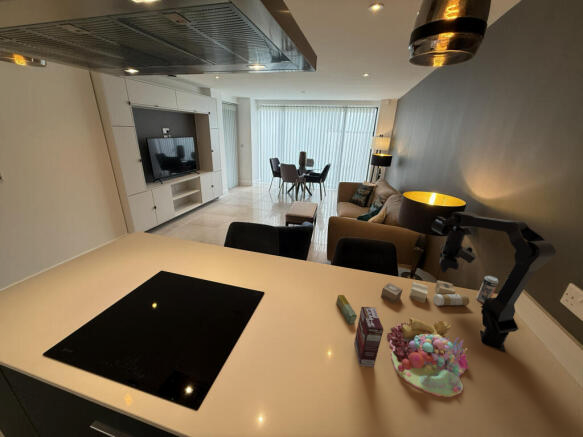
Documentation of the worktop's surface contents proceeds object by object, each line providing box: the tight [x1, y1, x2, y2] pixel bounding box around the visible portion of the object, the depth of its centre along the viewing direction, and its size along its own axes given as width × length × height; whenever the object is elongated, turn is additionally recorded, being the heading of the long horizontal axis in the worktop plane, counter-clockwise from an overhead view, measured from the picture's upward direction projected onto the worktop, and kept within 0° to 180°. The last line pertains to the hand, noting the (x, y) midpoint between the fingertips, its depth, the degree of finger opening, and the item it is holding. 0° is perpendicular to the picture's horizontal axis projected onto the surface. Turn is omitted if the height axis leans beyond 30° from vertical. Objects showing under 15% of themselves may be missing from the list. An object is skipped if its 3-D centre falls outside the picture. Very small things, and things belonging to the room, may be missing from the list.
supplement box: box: [353, 306, 384, 367], centre depth 72 cm, size 9×5×16 cm, turn 177°
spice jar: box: [475, 275, 499, 304], centre depth 101 cm, size 5×5×12 cm
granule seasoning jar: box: [432, 293, 470, 307], centre depth 99 cm, size 5×5×14 cm
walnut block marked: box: [380, 282, 403, 305], centre depth 101 cm, size 6×6×5 cm
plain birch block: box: [408, 281, 429, 304], centre depth 103 cm, size 6×6×5 cm
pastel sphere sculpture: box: [386, 317, 469, 398], centre depth 74 cm, size 25×24×9 cm
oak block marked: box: [434, 280, 456, 295], centre depth 105 cm, size 6×6×5 cm
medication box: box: [335, 294, 358, 325], centre depth 91 cm, size 12×3×4 cm, turn 13°
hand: (443, 272), depth 101 cm, fingers closed
